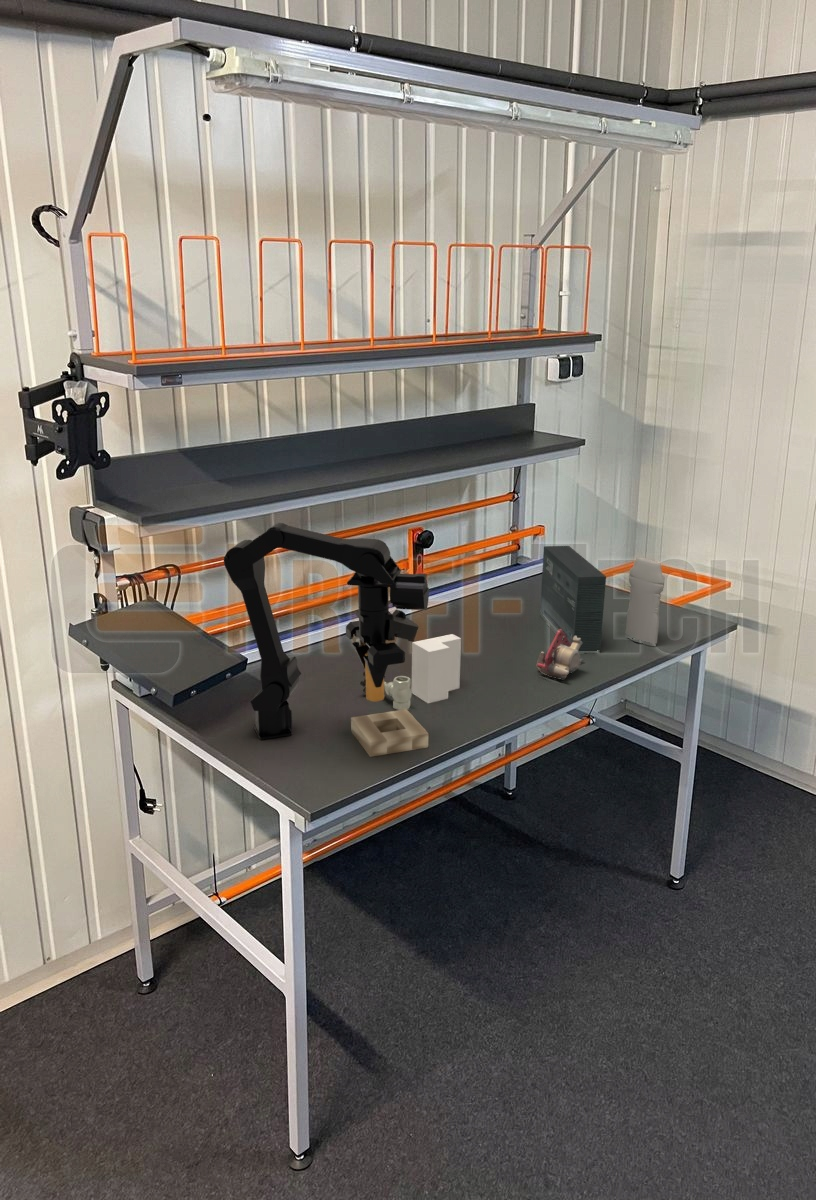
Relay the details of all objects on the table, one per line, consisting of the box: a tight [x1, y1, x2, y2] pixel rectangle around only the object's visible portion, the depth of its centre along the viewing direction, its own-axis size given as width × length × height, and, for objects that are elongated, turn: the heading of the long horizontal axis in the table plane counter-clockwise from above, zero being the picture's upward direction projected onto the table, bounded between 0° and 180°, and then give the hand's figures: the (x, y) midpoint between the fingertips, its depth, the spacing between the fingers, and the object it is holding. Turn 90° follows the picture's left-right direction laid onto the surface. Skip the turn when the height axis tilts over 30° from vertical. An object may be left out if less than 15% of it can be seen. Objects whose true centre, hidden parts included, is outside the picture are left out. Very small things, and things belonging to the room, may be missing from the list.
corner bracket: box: [411, 633, 462, 704], centre depth 214 cm, size 11×11×12 cm
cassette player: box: [539, 545, 607, 651], centre depth 248 cm, size 29×7×20 cm, turn 9°
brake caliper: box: [535, 629, 587, 680], centre depth 223 cm, size 11×11×12 cm
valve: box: [359, 671, 413, 711], centre depth 208 cm, size 7×7×12 cm
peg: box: [364, 652, 385, 702], centre depth 186 cm, size 4×4×9 cm
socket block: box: [350, 709, 429, 758], centre depth 191 cm, size 12×12×3 cm
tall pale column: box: [624, 557, 665, 644], centre depth 243 cm, size 11×4×22 cm, turn 39°
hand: (375, 683), depth 187 cm, fingers closed on peg, 4 cm apart
